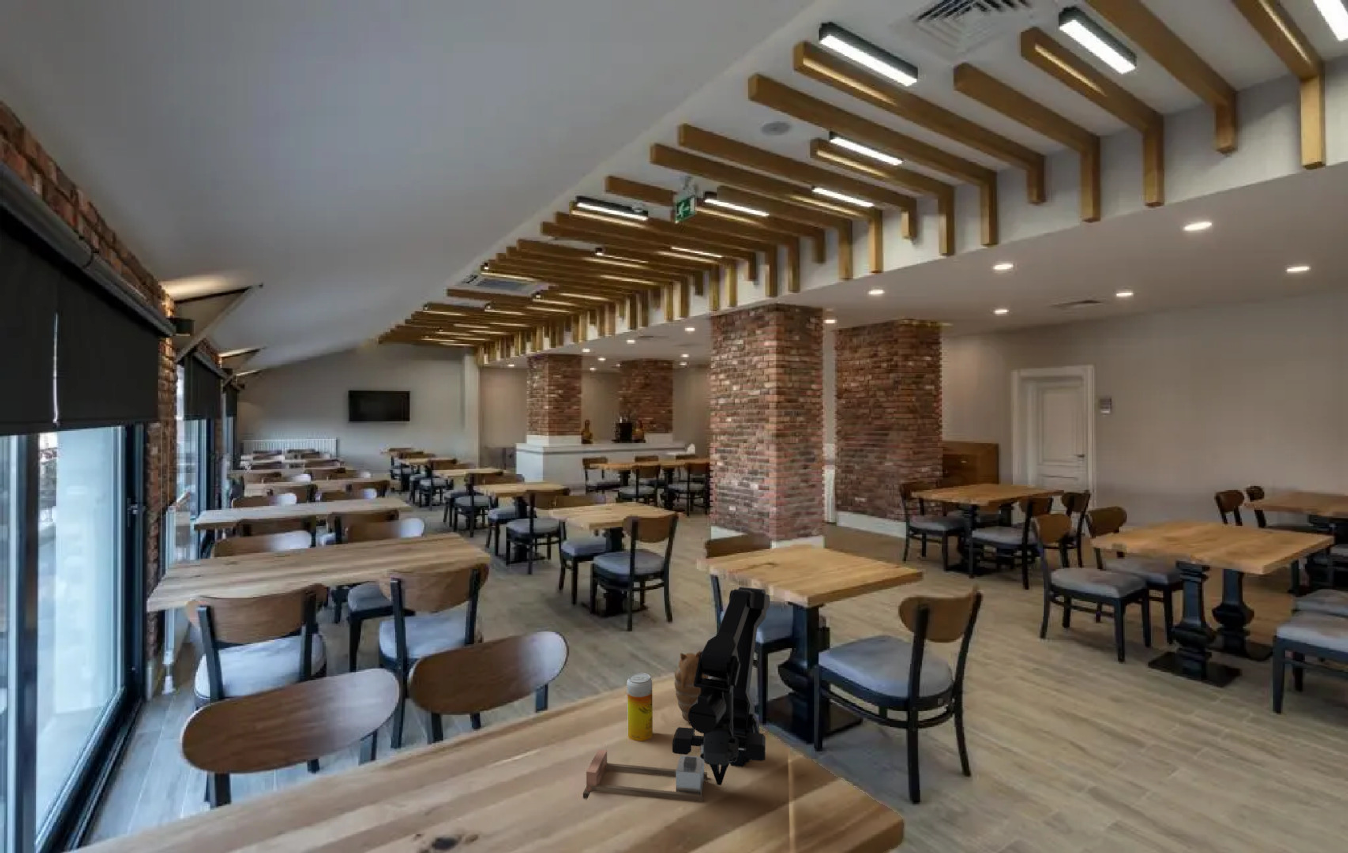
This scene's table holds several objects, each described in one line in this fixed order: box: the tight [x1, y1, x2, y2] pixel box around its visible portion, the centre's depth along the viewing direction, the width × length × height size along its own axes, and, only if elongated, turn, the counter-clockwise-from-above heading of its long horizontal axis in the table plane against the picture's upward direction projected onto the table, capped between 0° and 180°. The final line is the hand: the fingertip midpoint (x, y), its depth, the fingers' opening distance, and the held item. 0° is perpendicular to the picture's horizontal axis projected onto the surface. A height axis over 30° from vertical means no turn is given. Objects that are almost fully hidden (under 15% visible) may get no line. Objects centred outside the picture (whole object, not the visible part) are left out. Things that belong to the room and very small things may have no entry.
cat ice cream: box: [674, 650, 710, 723], centre depth 158 cm, size 9×8×18 cm
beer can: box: [626, 672, 654, 742], centre depth 150 cm, size 6×6×15 cm
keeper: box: [675, 754, 705, 794], centre depth 129 cm, size 6×5×6 cm
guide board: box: [582, 749, 708, 803], centre depth 131 cm, size 10×25×5 cm, turn 80°
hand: (719, 784), depth 128 cm, fingers closed
